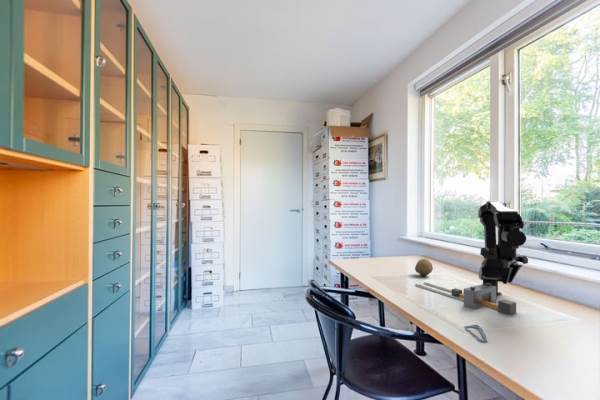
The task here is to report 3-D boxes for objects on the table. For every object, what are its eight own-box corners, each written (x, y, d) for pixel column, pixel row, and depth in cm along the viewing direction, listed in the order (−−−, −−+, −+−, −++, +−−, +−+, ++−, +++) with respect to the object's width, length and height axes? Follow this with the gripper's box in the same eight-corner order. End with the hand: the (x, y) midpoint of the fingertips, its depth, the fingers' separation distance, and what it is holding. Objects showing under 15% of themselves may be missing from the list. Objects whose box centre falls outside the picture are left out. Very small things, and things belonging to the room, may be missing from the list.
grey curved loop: (470, 342, 84) (489, 344, 82) (469, 339, 84) (489, 341, 82) (463, 326, 95) (480, 327, 93) (463, 323, 95) (480, 325, 93)
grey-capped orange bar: (450, 296, 124) (450, 287, 124) (456, 294, 126) (456, 285, 126) (510, 315, 103) (509, 304, 103) (516, 312, 105) (516, 302, 105)
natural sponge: (436, 278, 153) (436, 260, 153) (419, 278, 153) (419, 260, 153) (428, 274, 162) (428, 257, 162) (413, 274, 162) (413, 257, 162)
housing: (429, 282, 144) (429, 268, 144) (496, 302, 116) (496, 284, 116) (407, 287, 137) (407, 271, 137) (473, 309, 108) (473, 289, 108)
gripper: (497, 238, 118) (497, 275, 117) (471, 241, 109) (471, 280, 109) (528, 242, 108) (528, 282, 108) (502, 245, 99) (502, 288, 99)
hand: (507, 283), depth 106 cm, fingers open, 3 cm apart
